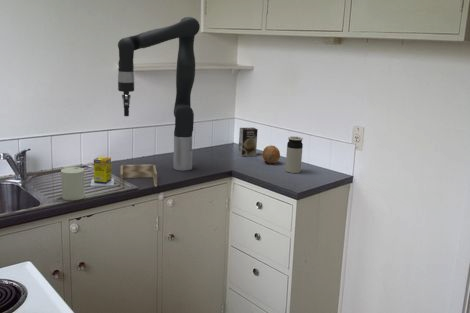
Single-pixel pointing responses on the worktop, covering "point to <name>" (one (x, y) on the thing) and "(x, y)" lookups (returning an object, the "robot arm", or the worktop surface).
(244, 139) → the coffee box
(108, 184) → the pad
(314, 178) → the worktop surface
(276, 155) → the onion
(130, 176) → the open wooden frame
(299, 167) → the travel mug
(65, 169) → the can
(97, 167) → the supplement box
